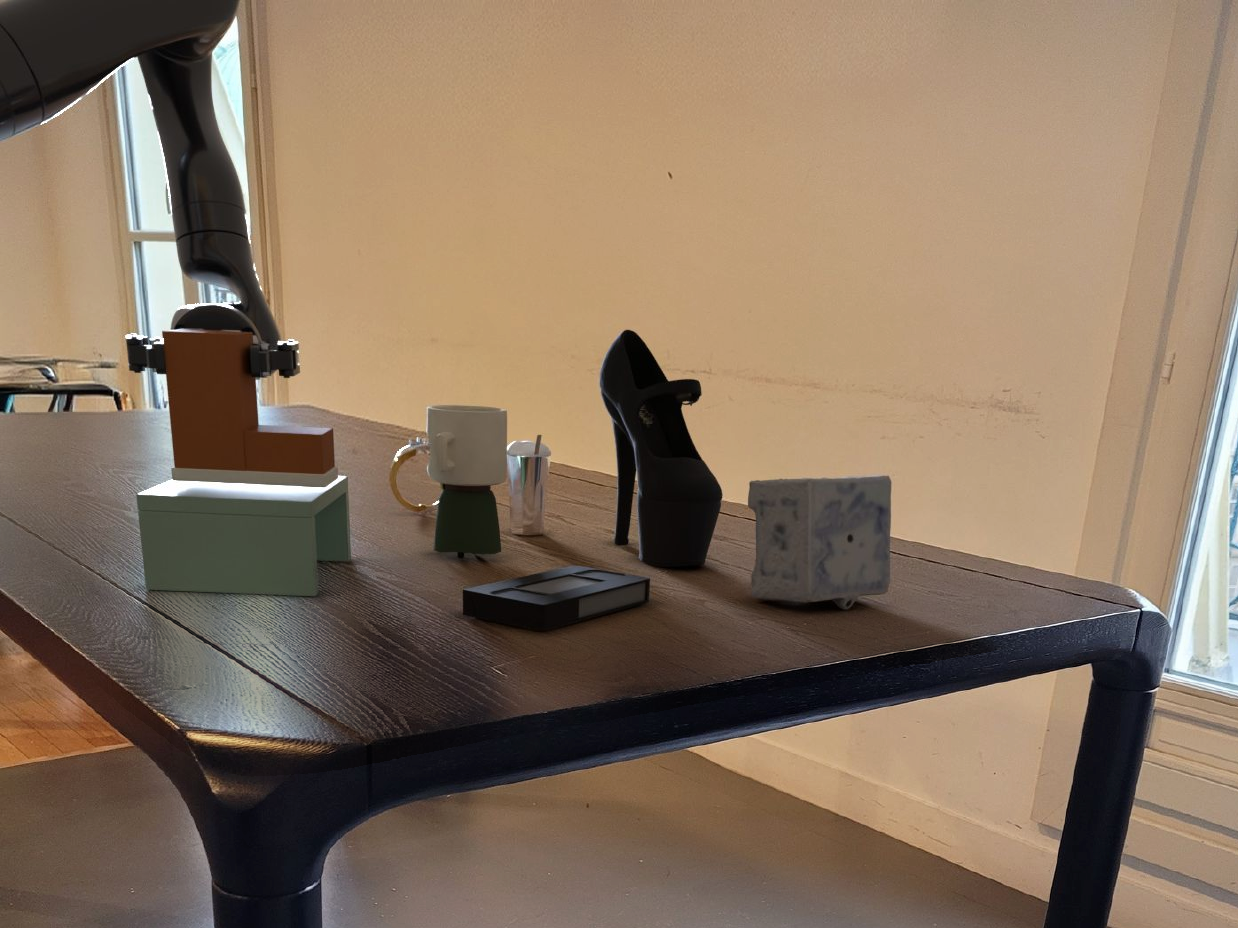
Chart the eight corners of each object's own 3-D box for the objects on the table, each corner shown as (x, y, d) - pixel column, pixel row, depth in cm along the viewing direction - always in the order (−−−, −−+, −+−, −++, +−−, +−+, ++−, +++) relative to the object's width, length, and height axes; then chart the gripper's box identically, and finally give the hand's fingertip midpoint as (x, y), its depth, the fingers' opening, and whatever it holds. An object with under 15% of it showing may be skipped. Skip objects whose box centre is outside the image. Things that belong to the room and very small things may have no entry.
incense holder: (819, 587, 113) (832, 465, 109) (890, 606, 107) (906, 477, 103) (736, 596, 107) (746, 468, 103) (805, 617, 101) (819, 481, 97)
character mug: (459, 543, 124) (458, 402, 119) (526, 551, 122) (528, 407, 117) (404, 561, 114) (400, 408, 109) (476, 569, 112) (476, 414, 107)
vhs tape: (650, 603, 103) (651, 578, 102) (542, 632, 92) (543, 605, 91) (574, 589, 107) (575, 565, 106) (462, 616, 96) (462, 589, 95)
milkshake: (516, 538, 128) (517, 434, 124) (499, 529, 133) (499, 429, 129) (558, 537, 130) (561, 434, 126) (540, 529, 134) (542, 429, 131)
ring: (454, 512, 142) (453, 437, 139) (455, 517, 139) (455, 440, 136) (390, 511, 141) (388, 435, 138) (390, 515, 138) (388, 438, 135)
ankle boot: (172, 481, 101) (157, 330, 96) (192, 471, 106) (179, 328, 101) (326, 487, 101) (319, 338, 97) (338, 478, 107) (332, 336, 102)
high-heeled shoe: (680, 578, 113) (694, 335, 106) (574, 542, 128) (580, 327, 120) (751, 572, 118) (770, 338, 110) (641, 538, 132) (651, 330, 124)
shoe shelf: (145, 589, 99) (135, 494, 96) (203, 553, 113) (196, 469, 111) (315, 596, 99) (311, 501, 97) (351, 559, 114) (347, 476, 111)
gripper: (127, 299, 109) (101, 302, 94) (300, 307, 113) (302, 312, 98) (136, 392, 112) (113, 409, 97) (305, 397, 116) (307, 415, 101)
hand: (208, 360), depth 98 cm, fingers closed on ankle boot, 6 cm apart
